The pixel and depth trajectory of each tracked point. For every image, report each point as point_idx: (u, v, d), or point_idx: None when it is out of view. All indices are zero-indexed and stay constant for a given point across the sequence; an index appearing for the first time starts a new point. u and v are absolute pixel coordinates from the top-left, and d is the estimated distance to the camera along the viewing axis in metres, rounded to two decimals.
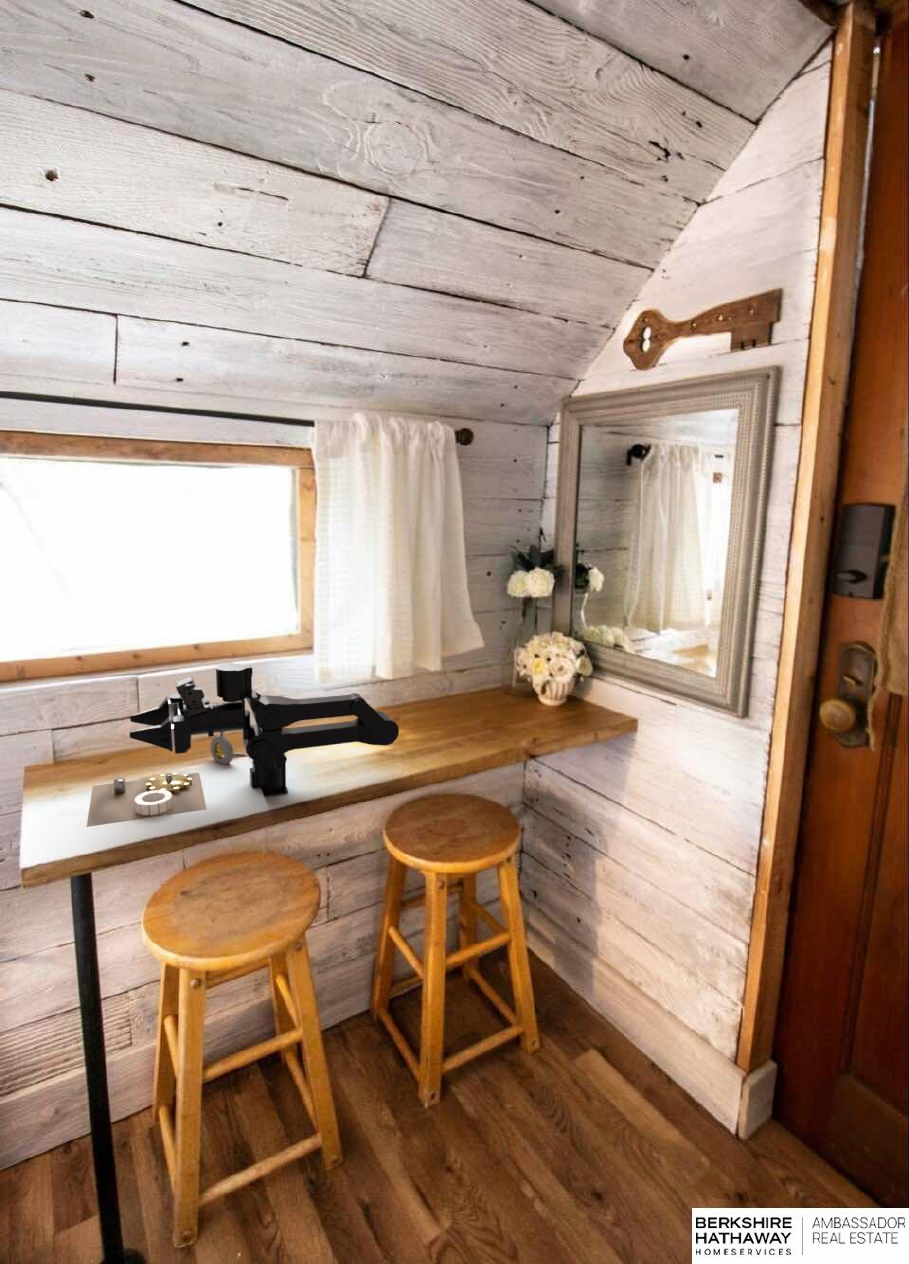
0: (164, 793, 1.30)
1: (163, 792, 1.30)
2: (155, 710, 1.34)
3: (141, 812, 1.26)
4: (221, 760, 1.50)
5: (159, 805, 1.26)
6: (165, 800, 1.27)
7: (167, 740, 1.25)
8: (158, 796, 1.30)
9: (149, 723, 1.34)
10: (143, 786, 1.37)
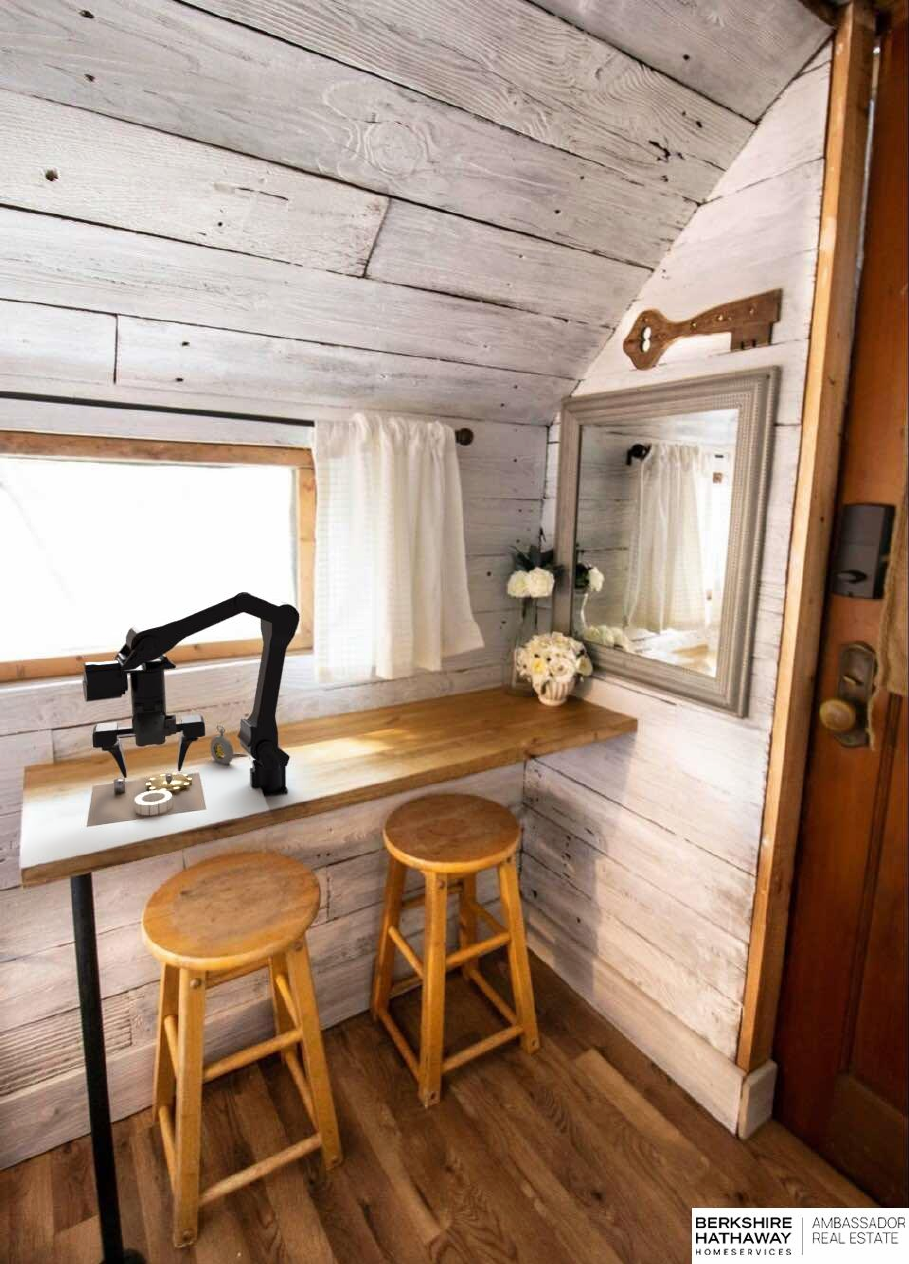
0: (164, 793, 1.30)
1: (163, 792, 1.30)
2: (122, 756, 1.24)
3: (141, 812, 1.26)
4: (221, 760, 1.50)
5: (159, 805, 1.26)
6: (165, 800, 1.27)
7: None
8: (158, 796, 1.30)
9: None
10: (143, 786, 1.37)
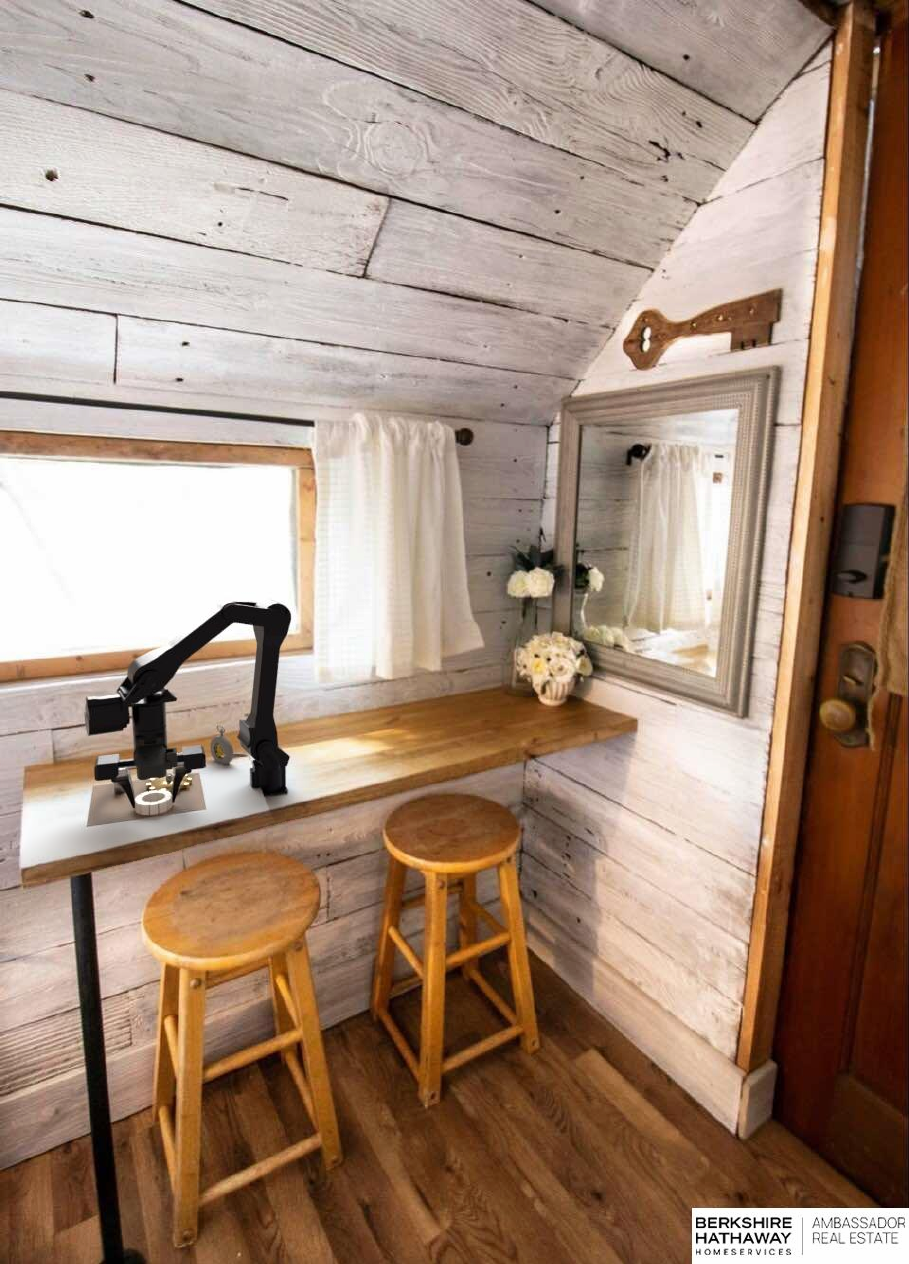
0: (164, 793, 1.30)
1: (163, 792, 1.30)
2: (131, 787, 1.25)
3: (141, 812, 1.26)
4: (221, 760, 1.50)
5: (159, 805, 1.26)
6: (165, 800, 1.27)
7: None
8: (158, 796, 1.30)
9: None
10: (143, 786, 1.37)
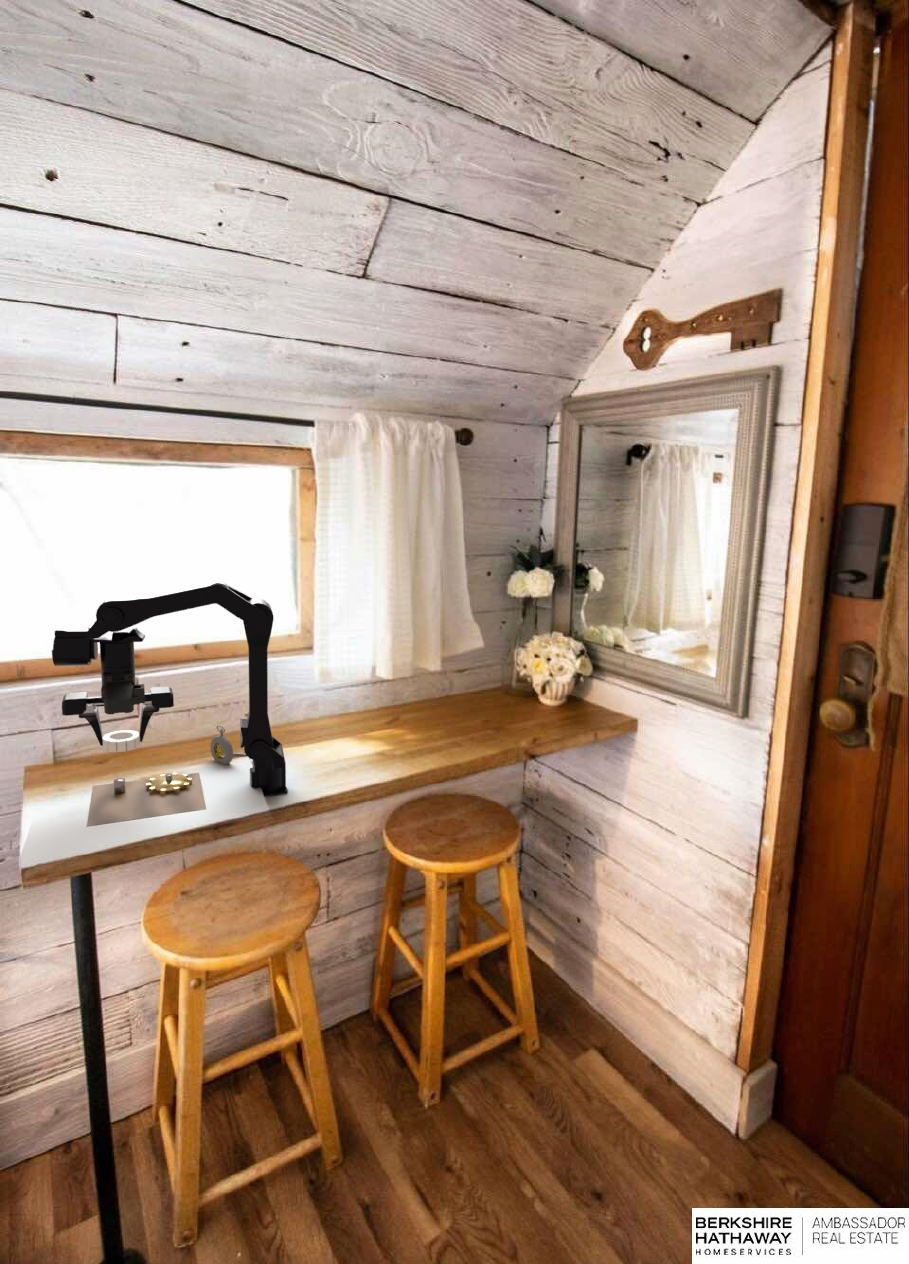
0: (132, 732, 1.32)
1: (131, 732, 1.33)
2: (99, 724, 1.27)
3: (109, 749, 1.28)
4: (221, 760, 1.50)
5: (127, 742, 1.28)
6: (132, 738, 1.29)
7: None
8: (126, 736, 1.32)
9: (100, 726, 1.30)
10: (143, 786, 1.37)
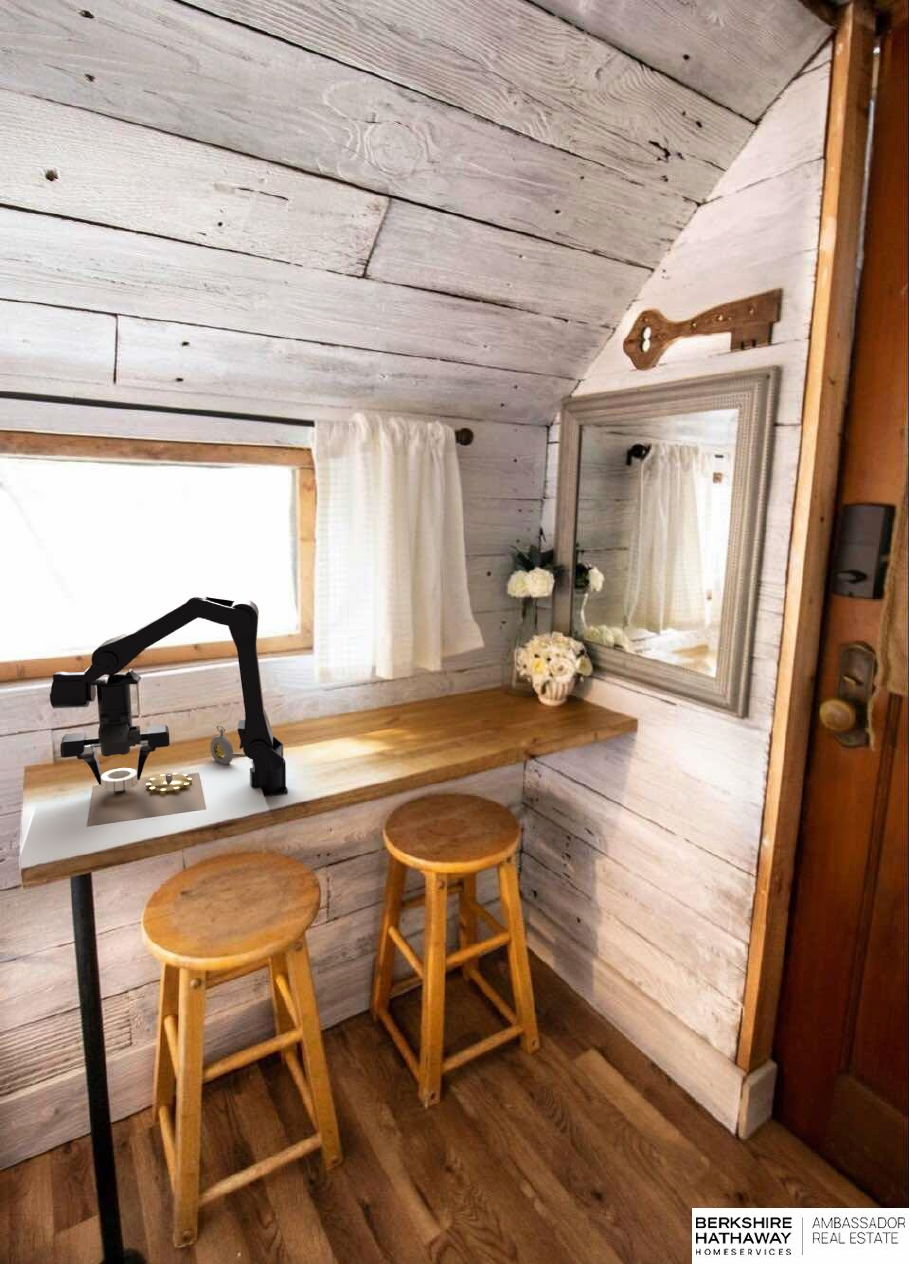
0: (130, 771, 1.35)
1: (129, 770, 1.36)
2: (97, 764, 1.30)
3: (107, 788, 1.31)
4: (221, 760, 1.50)
5: (124, 782, 1.31)
6: (130, 777, 1.32)
7: None
8: (124, 774, 1.36)
9: (99, 765, 1.33)
10: (143, 786, 1.37)
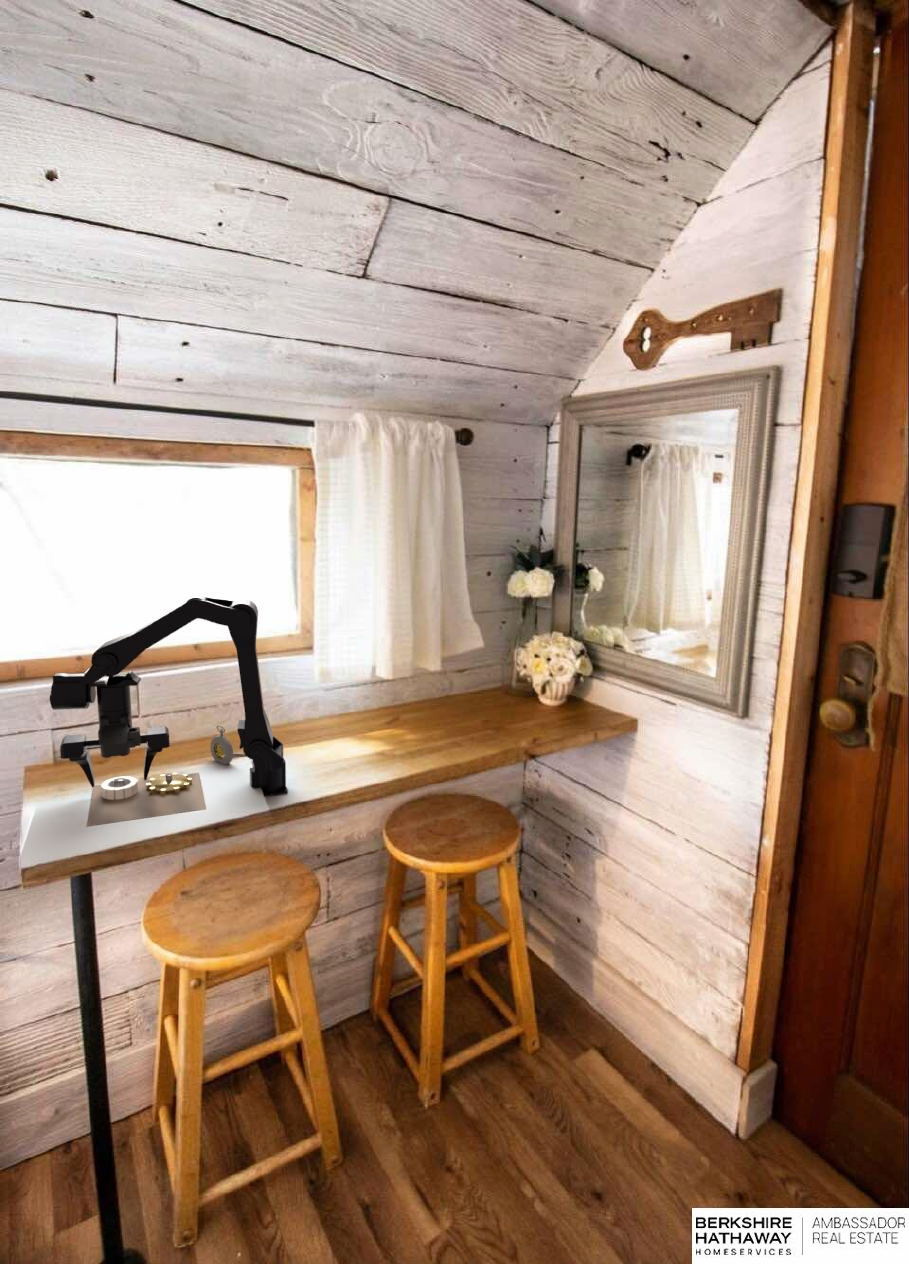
0: (130, 779, 1.36)
1: (129, 778, 1.36)
2: (89, 766, 1.30)
3: (107, 797, 1.31)
4: (221, 760, 1.50)
5: (124, 790, 1.32)
6: (130, 786, 1.33)
7: None
8: None
9: None
10: (143, 786, 1.37)
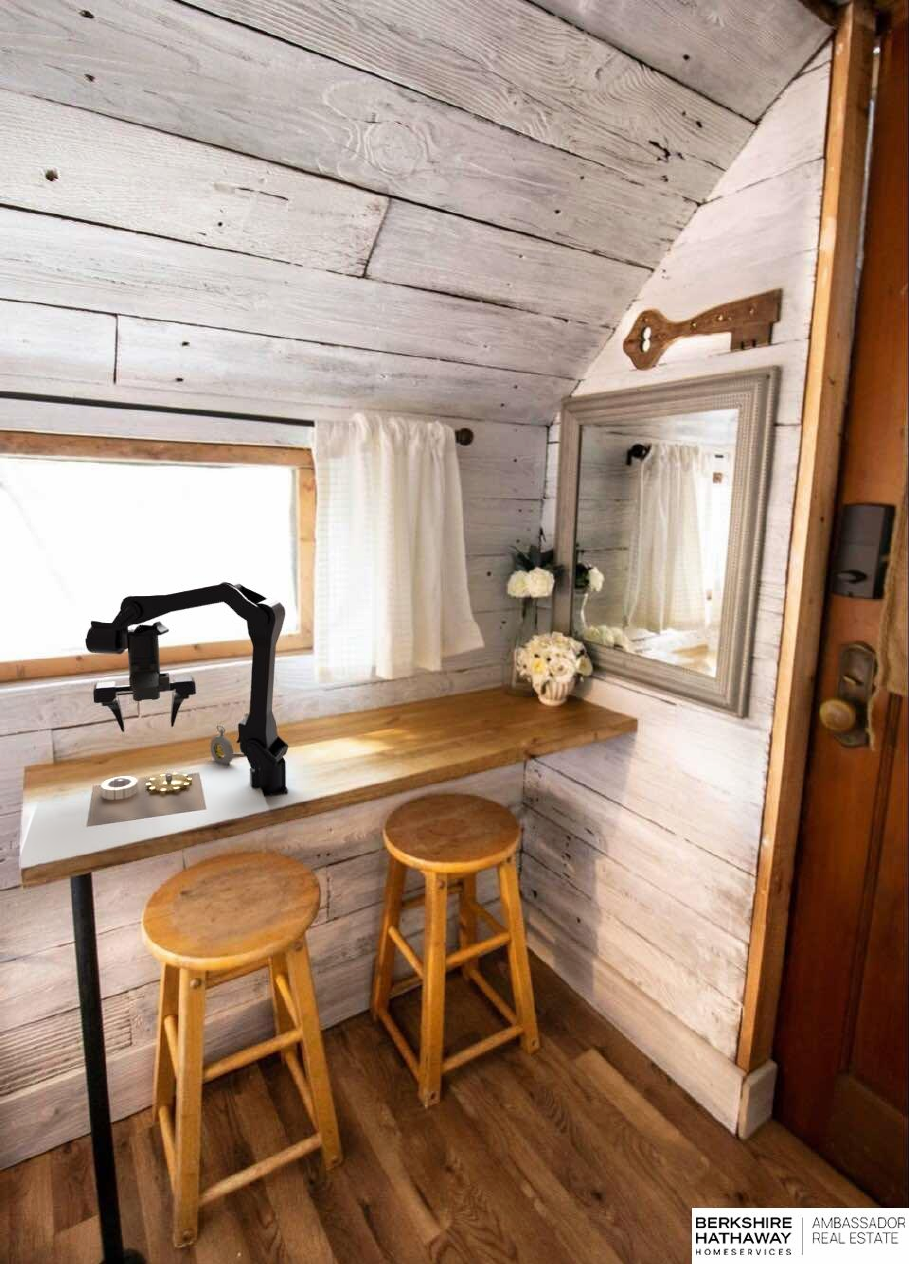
0: (130, 779, 1.36)
1: (129, 778, 1.36)
2: (120, 711, 1.36)
3: (107, 797, 1.31)
4: (221, 760, 1.50)
5: (124, 790, 1.32)
6: (130, 786, 1.33)
7: None
8: None
9: None
10: (143, 786, 1.37)
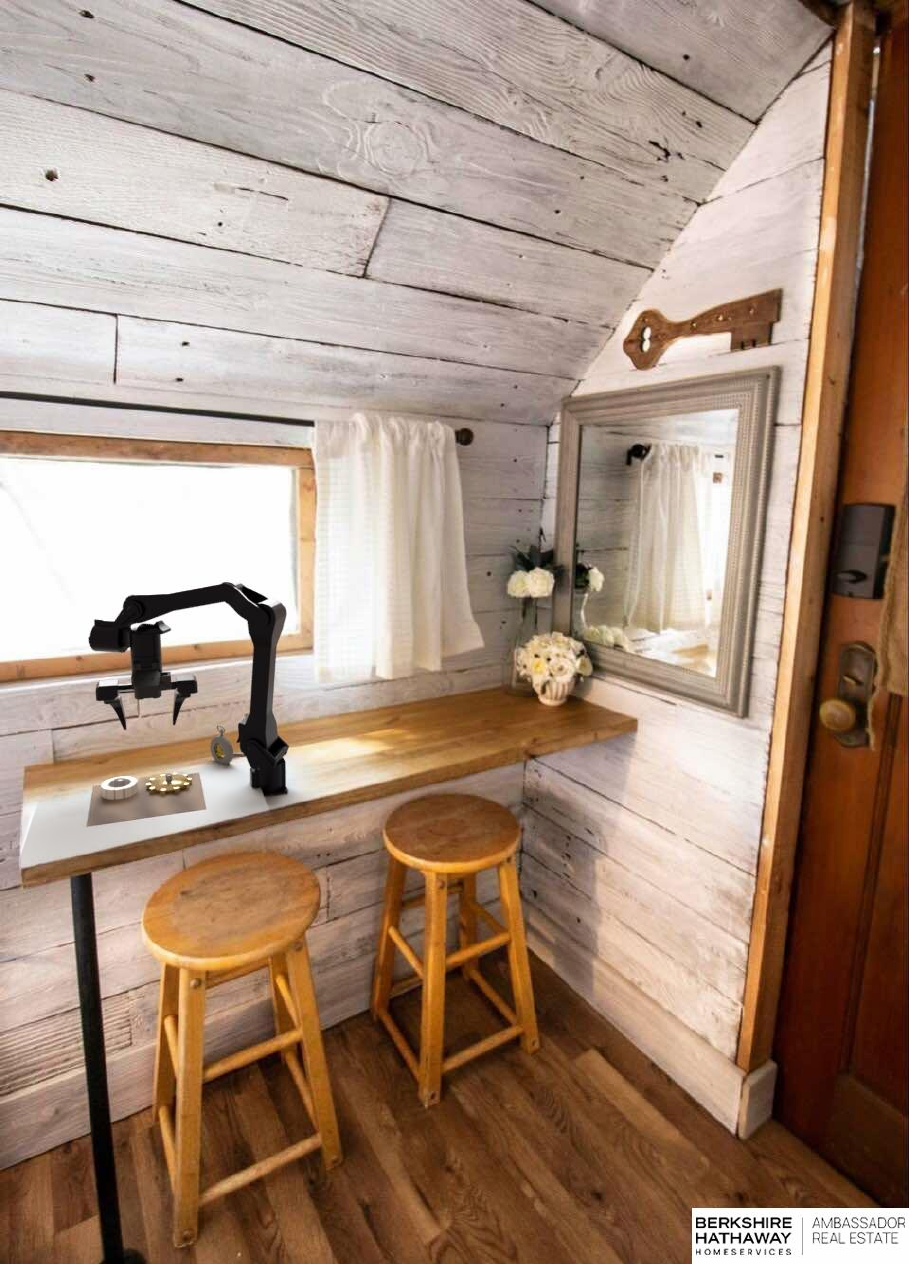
0: (130, 779, 1.36)
1: (129, 778, 1.36)
2: (122, 710, 1.37)
3: (107, 797, 1.31)
4: (221, 760, 1.50)
5: (124, 790, 1.32)
6: (130, 786, 1.33)
7: None
8: None
9: (124, 712, 1.40)
10: (143, 786, 1.37)
